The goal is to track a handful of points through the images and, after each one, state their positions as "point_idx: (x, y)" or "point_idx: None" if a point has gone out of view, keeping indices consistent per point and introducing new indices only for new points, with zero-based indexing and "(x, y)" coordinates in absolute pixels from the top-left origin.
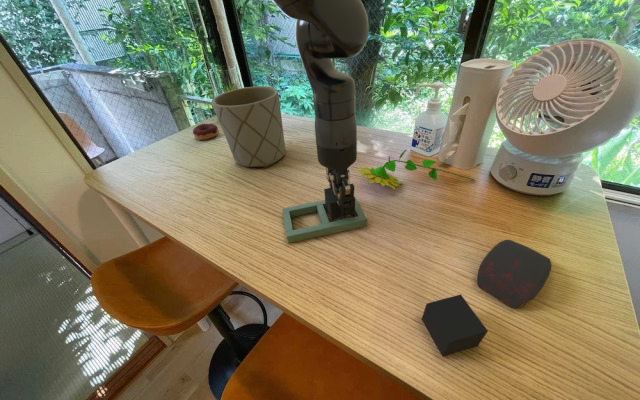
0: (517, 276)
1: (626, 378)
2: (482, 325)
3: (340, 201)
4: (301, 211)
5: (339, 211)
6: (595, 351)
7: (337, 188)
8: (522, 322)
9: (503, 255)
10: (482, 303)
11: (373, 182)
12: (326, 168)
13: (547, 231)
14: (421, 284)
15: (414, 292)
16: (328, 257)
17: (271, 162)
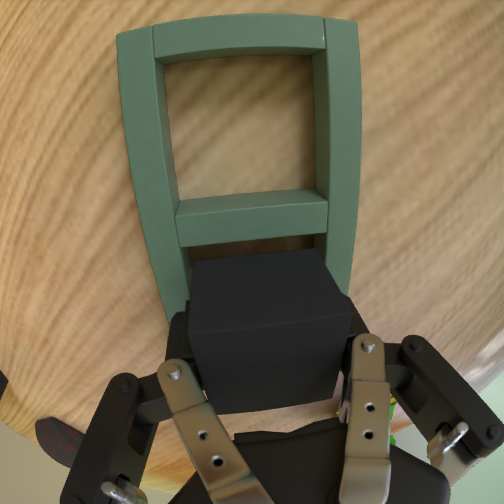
0: (54, 454)
1: (11, 428)
2: None
3: (105, 418)
4: (321, 113)
5: (183, 327)
6: (22, 431)
7: (320, 370)
8: (25, 416)
9: None
10: (31, 407)
11: (337, 413)
12: (381, 491)
13: (160, 479)
14: (30, 371)
15: (13, 356)
16: (48, 208)
17: None
